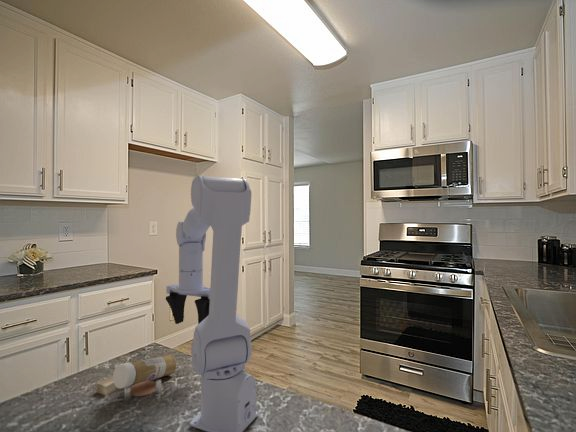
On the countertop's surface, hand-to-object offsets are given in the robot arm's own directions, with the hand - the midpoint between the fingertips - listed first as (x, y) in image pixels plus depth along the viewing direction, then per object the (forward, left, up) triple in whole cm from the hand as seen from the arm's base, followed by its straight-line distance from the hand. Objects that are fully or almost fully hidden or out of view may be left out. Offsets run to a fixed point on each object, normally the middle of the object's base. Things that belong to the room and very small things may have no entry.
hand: (190, 324), depth 78 cm
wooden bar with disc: (+2, +12, -10) cm, 16 cm away
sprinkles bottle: (+2, +5, -8) cm, 10 cm away
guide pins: (+2, +12, -10) cm, 16 cm away
